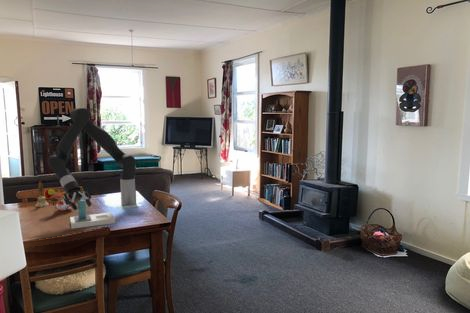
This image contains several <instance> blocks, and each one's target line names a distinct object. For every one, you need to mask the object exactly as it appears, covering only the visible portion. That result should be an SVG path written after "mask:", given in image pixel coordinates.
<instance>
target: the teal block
mask: <svg viewBox="0 0 470 313" xmlns="http://www.w3.org/2000/svg"><path fill="white" fill-rule="evenodd" d="M77 212H78V214H77V216H78V217H79V219H86V215H87V203H86V200H81V199H80V200H77Z"/></svg>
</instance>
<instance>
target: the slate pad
mask: <svg viewBox="0 0 470 313" xmlns="http://www.w3.org/2000/svg"><path fill="white" fill-rule="evenodd" d="M86 215H87V214H86ZM90 215H91V214H88V215H87V216H86V219H79V217H76V216H73V217H74V219H75V222H83V221H91V217H90Z"/></svg>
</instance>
